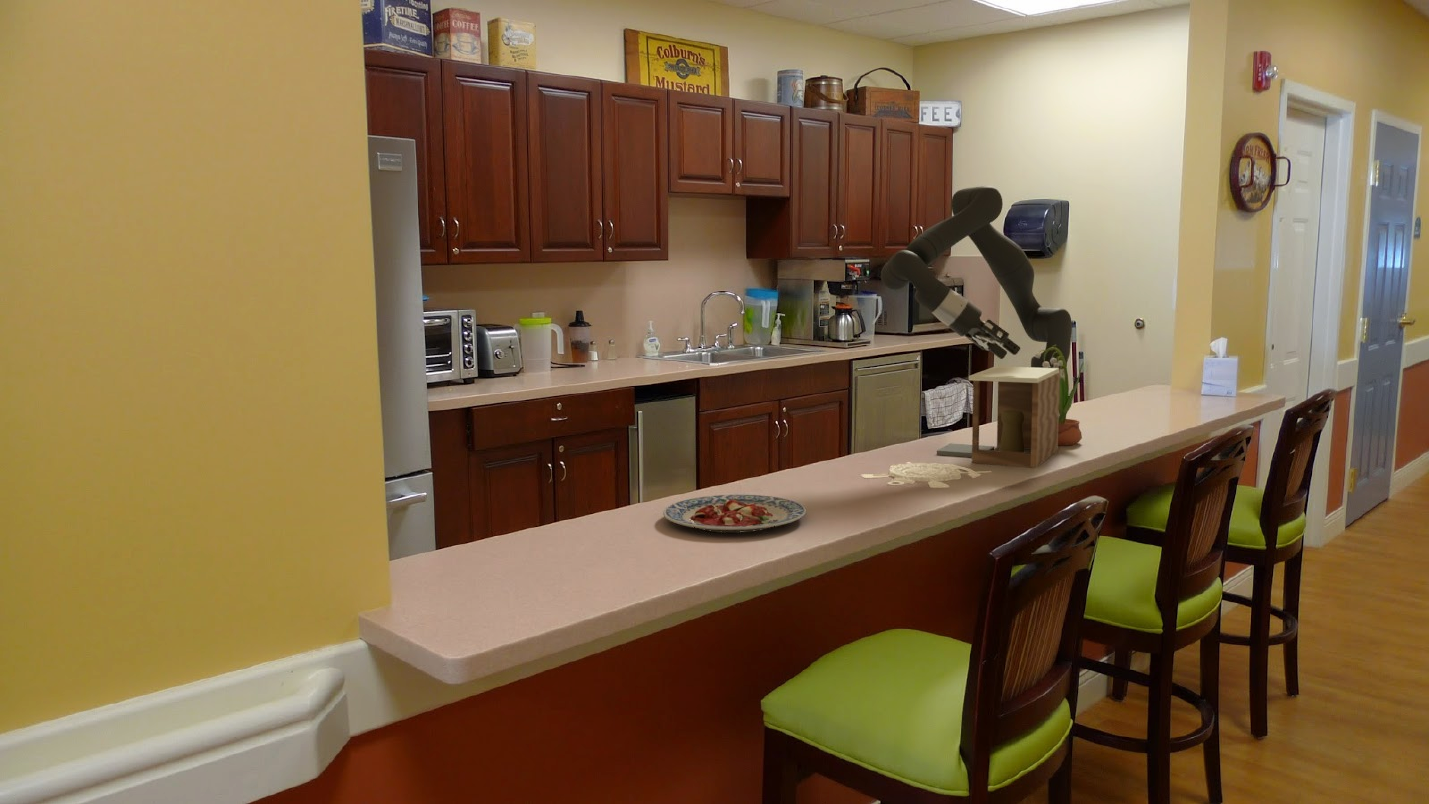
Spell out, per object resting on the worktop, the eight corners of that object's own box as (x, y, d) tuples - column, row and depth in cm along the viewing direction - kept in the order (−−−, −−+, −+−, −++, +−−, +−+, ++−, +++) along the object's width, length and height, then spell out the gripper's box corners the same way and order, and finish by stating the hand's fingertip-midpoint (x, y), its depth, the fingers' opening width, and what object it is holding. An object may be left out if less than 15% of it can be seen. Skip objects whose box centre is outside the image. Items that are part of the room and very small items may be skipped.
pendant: (998, 472, 227) (998, 466, 227) (937, 494, 206) (937, 487, 205) (913, 461, 241) (913, 456, 240) (847, 481, 219) (847, 475, 219)
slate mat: (950, 447, 255) (950, 443, 255) (994, 450, 250) (994, 446, 249) (936, 454, 245) (936, 450, 245) (982, 458, 240) (982, 453, 240)
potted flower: (1032, 445, 255) (1034, 345, 252) (1031, 439, 265) (1034, 342, 261) (1082, 447, 252) (1085, 346, 248) (1080, 440, 261) (1083, 343, 258)
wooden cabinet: (994, 445, 256) (995, 366, 253) (1057, 450, 249) (1059, 368, 246) (967, 462, 235) (968, 375, 233) (1036, 467, 228) (1038, 378, 225)
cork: (1006, 452, 246) (1007, 407, 245) (1029, 455, 242) (1030, 409, 241) (993, 456, 242) (994, 410, 241) (1016, 459, 238) (1017, 412, 236)
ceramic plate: (635, 520, 188) (635, 504, 187) (744, 499, 203) (744, 484, 203) (721, 549, 167) (721, 531, 167) (835, 523, 183) (835, 507, 182)
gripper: (975, 294, 233) (1031, 337, 233) (956, 304, 247) (1009, 345, 247) (956, 320, 232) (1013, 363, 232) (938, 329, 246) (991, 369, 247)
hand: (1011, 354), depth 240 cm, fingers open, 8 cm apart
